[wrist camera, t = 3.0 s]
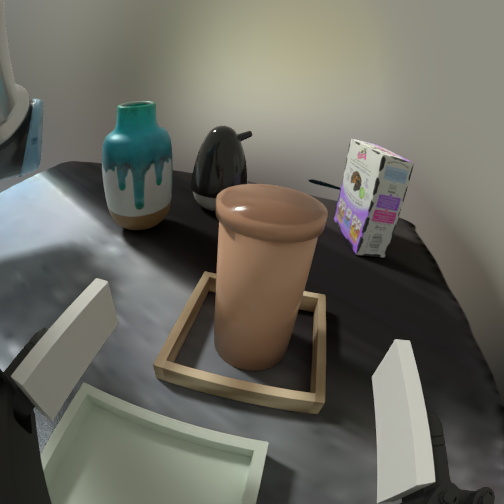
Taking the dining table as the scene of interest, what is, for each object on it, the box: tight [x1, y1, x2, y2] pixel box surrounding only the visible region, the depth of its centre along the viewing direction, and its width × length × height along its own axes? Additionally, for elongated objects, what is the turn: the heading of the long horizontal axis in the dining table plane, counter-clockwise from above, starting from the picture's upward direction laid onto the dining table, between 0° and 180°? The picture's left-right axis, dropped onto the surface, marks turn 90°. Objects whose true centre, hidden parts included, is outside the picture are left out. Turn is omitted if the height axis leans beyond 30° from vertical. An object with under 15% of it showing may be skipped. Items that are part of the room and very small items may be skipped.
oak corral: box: [153, 271, 326, 414], centre depth 26 cm, size 14×14×2 cm
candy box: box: [334, 139, 414, 258], centre depth 45 cm, size 14×6×16 cm, turn 2°
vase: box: [102, 101, 172, 230], centre depth 38 cm, size 11×11×19 cm
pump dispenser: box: [191, 126, 252, 212], centre depth 49 cm, size 10×10×15 cm
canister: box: [214, 184, 328, 371], centre depth 23 cm, size 8×8×14 cm
